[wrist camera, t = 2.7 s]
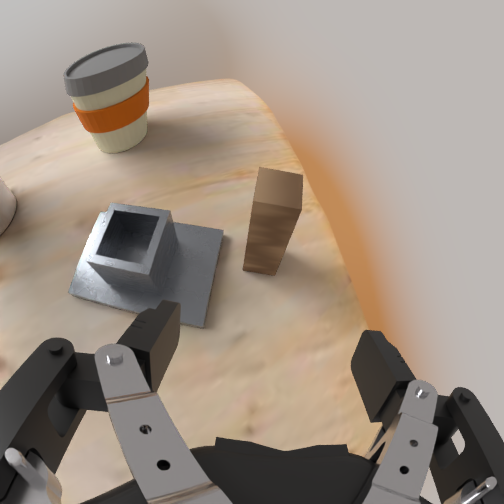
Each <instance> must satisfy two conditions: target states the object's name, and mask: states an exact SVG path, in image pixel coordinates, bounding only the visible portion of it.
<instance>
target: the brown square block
mask: <svg viewBox="0 0 504 504" xmlns="http://www.w3.org/2000/svg"><path fill="white" fill-rule="evenodd" d="M302 191H303V175H300V174H295V173H290V172H284V171H279V170H274V169H268V168H262V167H259V171H258V177H257V182H256V188H255V193H254V199H253V205H252V212H251V218H250V225H249V232H248V238H247V245H246V252H245V259H244V265H243V270H244V271H250V272H256V273H262V274H268V275H274V276H275V274H276V271H277V269H278V267H279V264H280V262H281V259H282V257H283V255H284V252H285V250H286V247H287V245H288V242H289V240H290V238H291V235H292V233H293V230H294V228H295V225H296V223H297V220H298V218H299V215H300V213H301V210H302Z"/></svg>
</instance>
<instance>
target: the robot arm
mask: <svg viewBox="0 0 504 504" xmlns="http://www.w3.org/2000/svg"><path fill="white" fill-rule="evenodd" d="M16 204H17V202H16V198H15V196H14V195H13V194H12V192H11V191H10V190H9V188H8V187H7V186H6V184H5V183H4V181H3V180H2V178H1V177H0V235H1V234H2V233H3V232H4V230H5V229H6V228H7V227H8V225H9V223H10V222H11V220H12V218H13V216H14V213H15V210H16ZM180 313H181V305H180V303H178V302H173V301H169V300H164V299H163V300H162V301H161V302H160V304H159V305H158V306H157V308H156V309H152V308H148V309H146V310H144V311H142V312H141V313H140V314H139V315H138V316H137V317H136V319H135V321H133V322H132V324H131V326H129V328H128V329H127V330H126V331H125V333H124V334H123V335H122V337H121V338H120V339H119V340H118V342H117V343H116V344H108V345H105V346H102V347H101V348H99V349H98V350H97V351H96V353H95V354H87V353H77V352H75V351H74V347H73V345H72V343H71V342H70V341H68V340H66V339H63V338H51V339H48V340H46V341H44V342H43V343H42V344H41V345H40V346H39V347H38V348H37V349H36V350H35V351H34V352H33V353H32V354H31V355H30V357H29V358H28V359H27V360H26V361H25V362H24V363H23V364H22V365H21V367H20V368H19V369H18V370H17V371H16V372H15V373H14V375H13V376H12V377H11V378H10V379H9V381H8V382H7V383H6V384H5V385H4V387H3V388H2V389H1V390H0V504H61V495H62V487H61V484H60V482H59V480H58V478H57V477H56V476H55V473H56V471H57V469H58V466H59V464H60V462H61V460H62V458H63V456H64V454H65V452H66V450H67V448H68V446H69V444H70V441H71V439H72V437H73V436H74V434H75V432H76V430H77V428H78V426H79V424H80V422H81V420H82V418H83V416H84V414H85V412H86V411H87V410H95V411H105V412H108V413H109V416H110V419H111V422H112V425H113V428H114V430H115V433H116V436H117V439H118V441H119V444H120V447H121V449H122V452H123V454H124V457H125V459H126V462H127V464H128V466H129V469H130V471H131V473H132V475H133V477H134V479H132V480H131V481H129V482H127V483H125V484H123V485H121V486H119V487H116V488H114V489H112V490H110V491H108V492H106V493H104V494H101V495H99V496H97V497H95V498H92V499H90V500H87V501H85V502H83V503H80V504H432V503H430V502H429V501H427V500H426V499H424V498H423V497H421V496H420V493H421V490H422V487H423V484H424V481H425V478H426V474H427V471H428V468H430V470H431V473H432V476H433V479H434V482H435V485H436V488H437V492H438V495H439V498H440V501H441V504H504V442H503V440H502V438H501V437H500V435H499V433H498V431H497V430H496V428H495V426H494V425H493V423H492V421H491V420H490V418H489V416H488V415H487V413H486V412H485V410H484V408H483V407H482V405H481V404H480V402H479V401H478V399H477V398H476V396H475V395H474V394H473V393H472V392H471V391H470V390H468V389H466V388H462V387H458V388H455V389H454V390H453V392H452V393H451V395H450V396H441V395H438V394H437V391H436V389H435V388H434V387H433V386H432V385H431V384H429V383H428V382H426V381H422V380H416V378H415V376H414V375H413V373H412V372H411V370H410V368H409V367H408V365H407V364H406V363H405V361H404V359H403V358H402V357H401V354H400V353H399V351H398V350H397V348H395V347H394V346H393V345H392V344H391V343H389V342H388V341H387V340H386V338H385V336H384V335H383V333H382V332H381V331H372V330H365V331H364V332H363V333H362V335H361V338H360V340H359V343H358V345H357V347H356V350H355V352H354V355H353V357H352V360H351V371H352V374H353V376H354V379H355V381H356V384H357V387H358V389H359V392H360V395H361V397H362V400H363V403H364V405H365V408H366V411H367V414H368V416H369V419H370V422H371V423H373V422H382V426H381V427H380V429H379V430H378V432H377V434H376V436H375V438H374V440H373V442H372V444H371V446H370V448H369V450H368V451H367V453H366V455H365V457H362V456H359V455H356V454H352V453H349V452H348V448H347V444H343V445H316V446H311V447H307V448H302V449H296V450H291V451H281V450H277V449H274V448H270V447H266V446H263V445H259V444H256V443H253V442H248V441H240V440H233V439H226V438H219V437H216V442H215V446H203V447H197V448H192V449H189V448H188V447H187V445H186V444H185V442H184V440H183V439H182V437H181V435H180V434H179V432H178V430H177V429H176V427H175V425H174V423H173V422H172V420H171V418H170V416H169V415H168V413H167V411H166V409H165V407H164V405H163V403H162V401H161V400H160V398H159V396H158V394H157V393H156V392H157V390H158V388H159V386H160V383H161V381H162V379H163V377H164V374H165V372H166V370H167V368H168V365H169V363H170V361H171V359H172V357H173V354H174V352H175V350H176V348H177V345H178V341H179V335H180ZM458 429H459V430H460V432H461V434H462V436H463V438H464V441H465V448H464V450H463V452H462V453H461V454H460V455H459V454H458V452H457V450H456V447H455V445H454V443H453V441H452V439H451V437H452V436H453V435H454V434H455V432H456V431H457V430H458Z"/></svg>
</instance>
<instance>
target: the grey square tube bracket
mask: <svg viewBox="0 0 504 504" xmlns="http://www.w3.org/2000/svg"><path fill="white" fill-rule="evenodd" d="M222 239H223V230H219V229H213V228H207V227H201V226H194V225H188V224H182V223H175V222H173V220H172V216H171V212H170V211H169V210H162V209H155V208H147V207H140V206H132V205H125V204H117V203H111V204H110V206H109V208H108V210H107V212H100V214H99V216H98V219H97V221H96V223H95V225H94V227H93V230H92V232H91V234H90V236H89V239H88V241H87V243H86V246H85V248H84V251H83V253H82V256H81V258H80V261H79V263H78V266H77V269H76V271H75V274H74V277H73V280H72V282H71V285H70V288H69V291H68V293H70V294H71V295H73V296H76V297H79V298H82V299H85V300H89V301H92V302H95V303H99V304H102V305H106V306H109V307H113V308H117V309H120V310H124V311H128V312H132V313H136V314H140V313H141V312H142V311H144V310H146V309H148V308H152V309H156V308H157V306H158V305H159V304H160V302H161V301H162V300H163V299H164V300H169V301H173V302H178V303H180V305H181V313H180V324H183V325H188V326H193V327H198V328H203V329H204V324H205V319H206V314H207V309H208V304H209V299H210V294H211V290H212V285H213V280H214V276H215V271H216V266H217V262H218V257H219V253H220V248H221V244H222Z"/></svg>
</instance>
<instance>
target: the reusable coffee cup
mask: <svg viewBox="0 0 504 504" xmlns="http://www.w3.org/2000/svg"><path fill="white" fill-rule="evenodd" d="M147 66H148V59H147V55H146V51H145V47H144V45H142V44H139V43H123V44H118V45H113V46H109V47H106V48H102V49H100V50H97V51H95V52H92V53H90V54H88V55H86V56H84V57H82V58H80V59H79V60H77V61H76V62H74V63H73V64H72V65H71V66H69V67H68V68H67V69H66V71H65V72H64V75H63V76H64V81H65V87H66V92H67V94H68V95H69V96H71V98H72V100H73V102H74V103H73V107H74V110H75V112H76V114H77V115H78V117H79V119H80V121H81V123H82V125H83V126H84V128H85V129H86V130H87V131H88V132H90V133H91V135H92V137H93V139H94V141H95V142H96V144H97V146H98V148H99V149H100V150H101V151H103V152H105V153H118V152H122V151H125V150H128V149H130V148H132V147H134V146H135V145H137V144H138V143H139V142H141V141H142V140H143V138H144V137H145V136H146V133H147V109H148V106H149V79H148V77H147V76H146V68H147Z"/></svg>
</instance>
